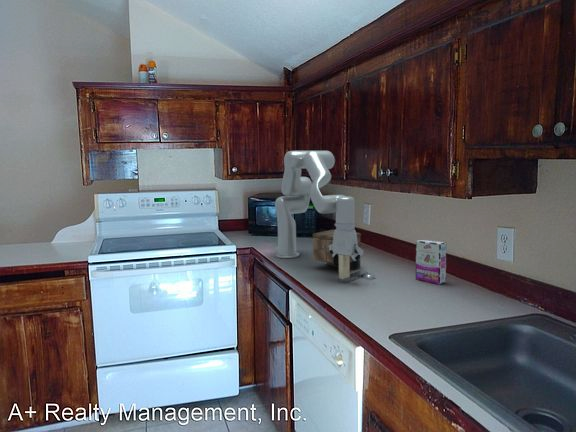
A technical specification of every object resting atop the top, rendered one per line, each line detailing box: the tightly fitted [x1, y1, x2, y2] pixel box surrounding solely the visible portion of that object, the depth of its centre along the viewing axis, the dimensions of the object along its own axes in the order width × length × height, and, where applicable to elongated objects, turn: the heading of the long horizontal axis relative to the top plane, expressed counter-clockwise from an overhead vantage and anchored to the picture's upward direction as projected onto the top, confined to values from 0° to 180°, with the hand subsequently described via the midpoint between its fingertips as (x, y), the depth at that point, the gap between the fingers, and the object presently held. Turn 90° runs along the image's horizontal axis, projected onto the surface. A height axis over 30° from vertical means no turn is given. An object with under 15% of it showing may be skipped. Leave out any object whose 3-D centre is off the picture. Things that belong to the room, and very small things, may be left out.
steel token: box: [362, 272, 376, 280], centre depth 181 cm, size 5×5×2 cm
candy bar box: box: [415, 239, 447, 285], centre depth 173 cm, size 11×5×16 cm, turn 40°
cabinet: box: [312, 229, 362, 271], centre depth 197 cm, size 17×16×16 cm
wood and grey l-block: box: [337, 254, 369, 284], centre depth 180 cm, size 4×16×12 cm, turn 134°
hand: (345, 267), depth 177 cm, fingers open, 9 cm apart
